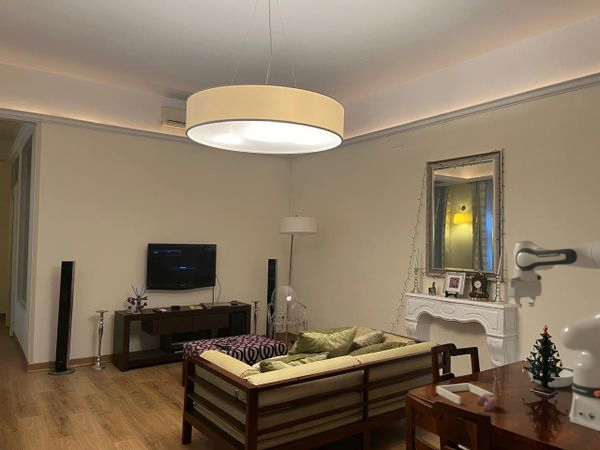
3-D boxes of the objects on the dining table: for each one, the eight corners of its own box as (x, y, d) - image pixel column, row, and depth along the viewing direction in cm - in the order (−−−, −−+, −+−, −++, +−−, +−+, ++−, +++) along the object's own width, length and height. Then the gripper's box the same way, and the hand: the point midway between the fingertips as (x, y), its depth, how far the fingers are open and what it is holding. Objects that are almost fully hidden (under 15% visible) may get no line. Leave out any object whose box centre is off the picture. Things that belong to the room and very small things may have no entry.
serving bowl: (533, 377, 253) (533, 363, 253) (578, 384, 240) (578, 370, 240) (523, 385, 237) (523, 371, 237) (570, 394, 223) (570, 379, 224)
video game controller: (492, 415, 199) (500, 400, 199) (483, 410, 199) (490, 395, 200) (484, 407, 209) (491, 393, 209) (474, 402, 209) (481, 388, 209)
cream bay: (493, 400, 214) (493, 393, 214) (458, 404, 208) (458, 397, 208) (468, 389, 230) (468, 382, 230) (435, 392, 224) (435, 386, 224)
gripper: (517, 277, 209) (517, 309, 209) (543, 276, 220) (544, 306, 219) (504, 277, 215) (504, 307, 214) (531, 275, 225) (531, 305, 225)
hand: (525, 307), depth 217 cm, fingers open, 8 cm apart
